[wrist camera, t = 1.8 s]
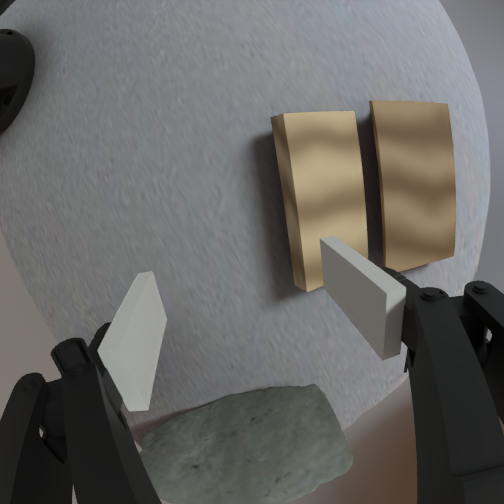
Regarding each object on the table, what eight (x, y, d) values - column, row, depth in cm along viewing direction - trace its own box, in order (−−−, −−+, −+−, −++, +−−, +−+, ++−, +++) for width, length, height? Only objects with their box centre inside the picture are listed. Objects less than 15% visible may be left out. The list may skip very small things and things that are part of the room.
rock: (157, 429, 42) (148, 535, 23) (136, 405, 40) (116, 517, 21) (316, 378, 42) (366, 486, 23) (305, 348, 40) (361, 465, 21)
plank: (265, 120, 31) (275, 114, 26) (345, 113, 32) (365, 108, 27) (288, 275, 37) (300, 293, 32) (359, 260, 37) (378, 274, 33)
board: (357, 104, 31) (372, 100, 28) (430, 106, 32) (447, 103, 29) (371, 264, 38) (385, 275, 34) (438, 248, 39) (454, 256, 35)
